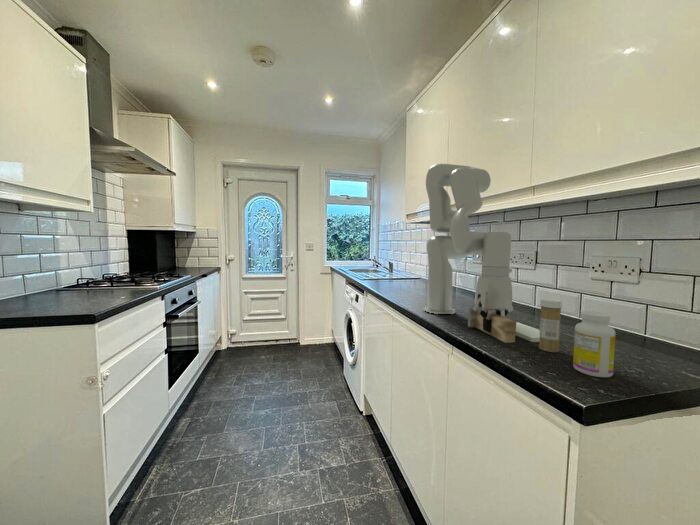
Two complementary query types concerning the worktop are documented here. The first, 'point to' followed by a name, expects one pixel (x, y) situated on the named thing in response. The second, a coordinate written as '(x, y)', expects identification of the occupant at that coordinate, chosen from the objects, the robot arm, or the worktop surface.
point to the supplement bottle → (594, 345)
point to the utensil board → (527, 332)
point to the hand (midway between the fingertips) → (492, 330)
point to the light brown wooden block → (494, 326)
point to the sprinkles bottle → (550, 324)
